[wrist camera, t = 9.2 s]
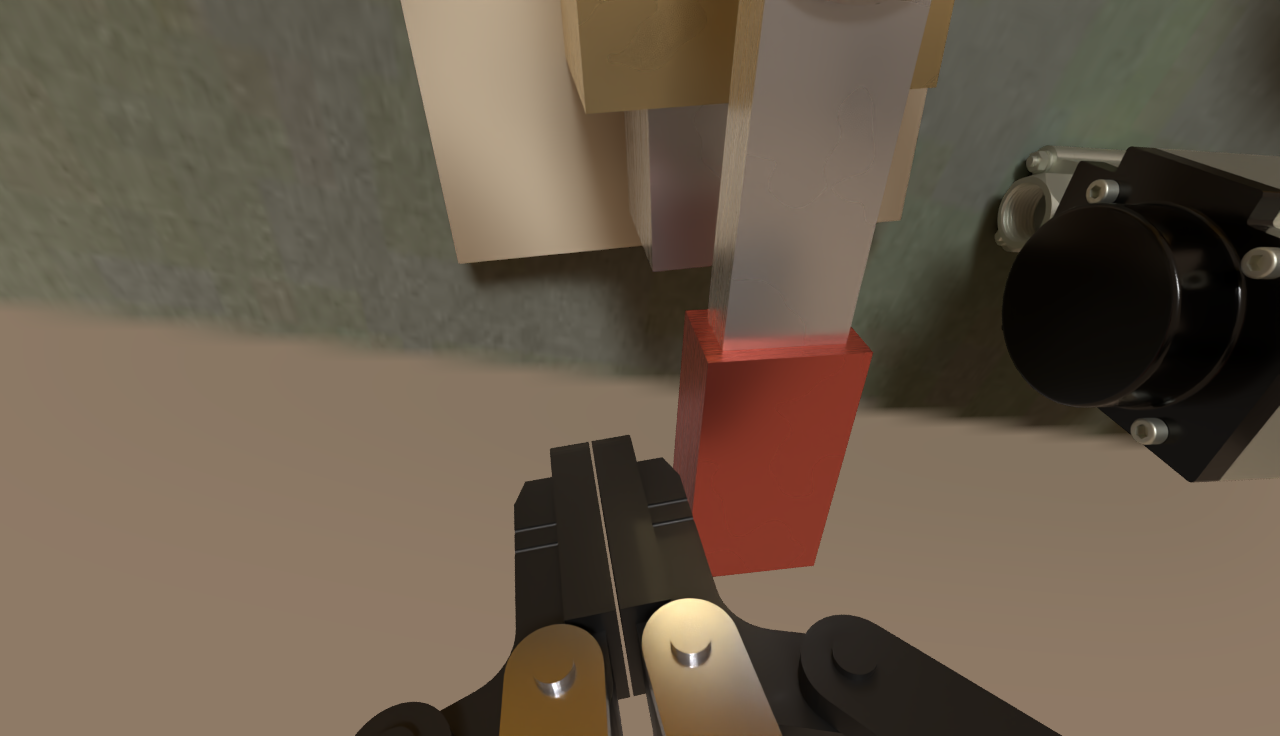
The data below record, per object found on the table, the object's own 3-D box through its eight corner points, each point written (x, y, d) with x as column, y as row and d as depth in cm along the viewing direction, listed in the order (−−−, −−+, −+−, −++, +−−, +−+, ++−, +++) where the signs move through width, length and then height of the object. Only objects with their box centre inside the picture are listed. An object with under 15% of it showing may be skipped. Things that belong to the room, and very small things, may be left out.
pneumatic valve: (1166, 265, 23) (1632, 502, 14) (876, 258, 21) (1179, 531, 11) (1260, 108, 20) (1951, 265, 10) (933, 80, 18) (1413, 244, 8)
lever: (725, -325, 6) (775, -392, 5) (974, -301, 7) (1081, -358, 6) (664, 518, 13) (679, 580, 12) (790, 505, 14) (818, 564, 12)
